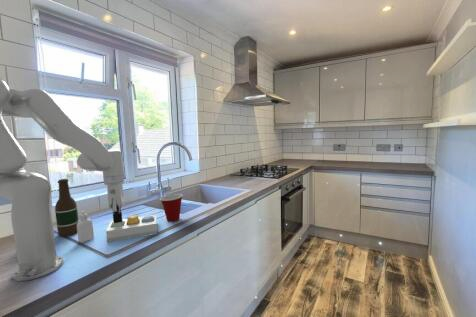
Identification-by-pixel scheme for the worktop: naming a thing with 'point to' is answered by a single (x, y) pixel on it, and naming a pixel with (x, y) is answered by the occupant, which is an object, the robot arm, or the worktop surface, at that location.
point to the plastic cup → (172, 206)
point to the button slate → (147, 219)
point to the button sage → (117, 224)
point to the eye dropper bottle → (85, 228)
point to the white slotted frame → (131, 229)
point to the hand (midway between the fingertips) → (118, 221)
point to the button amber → (133, 220)
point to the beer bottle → (66, 211)
